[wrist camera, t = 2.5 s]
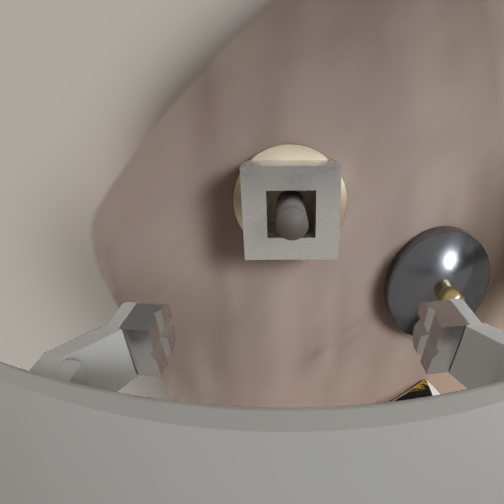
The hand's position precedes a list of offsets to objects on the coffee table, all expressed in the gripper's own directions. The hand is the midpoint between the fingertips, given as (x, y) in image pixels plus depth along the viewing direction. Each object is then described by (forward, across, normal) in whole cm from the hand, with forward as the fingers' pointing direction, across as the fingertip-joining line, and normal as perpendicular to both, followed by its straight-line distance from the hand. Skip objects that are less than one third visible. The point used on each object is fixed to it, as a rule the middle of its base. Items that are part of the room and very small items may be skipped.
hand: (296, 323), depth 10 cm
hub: (+15, -13, +7) cm, 21 cm away
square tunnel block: (+14, 0, 0) cm, 14 cm away
